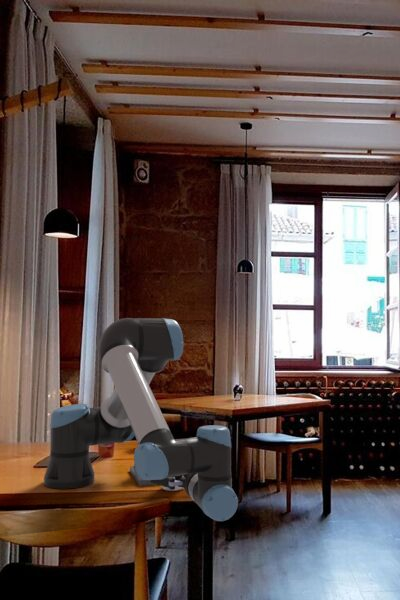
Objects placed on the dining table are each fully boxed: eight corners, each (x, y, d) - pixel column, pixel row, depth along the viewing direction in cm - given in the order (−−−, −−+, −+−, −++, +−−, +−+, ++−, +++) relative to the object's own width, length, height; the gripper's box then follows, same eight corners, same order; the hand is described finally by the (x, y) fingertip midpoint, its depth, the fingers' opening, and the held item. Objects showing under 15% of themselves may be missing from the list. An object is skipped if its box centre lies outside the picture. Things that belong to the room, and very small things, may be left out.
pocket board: (139, 485, 160) (139, 476, 160) (129, 471, 177) (129, 462, 177) (178, 482, 163) (177, 473, 163) (165, 468, 181) (165, 460, 181)
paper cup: (92, 457, 198) (92, 419, 199) (102, 453, 205) (102, 416, 206) (110, 459, 196) (110, 420, 197) (120, 454, 203) (120, 417, 204)
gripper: (151, 508, 124) (136, 485, 144) (251, 498, 131) (223, 477, 151) (151, 475, 124) (136, 457, 144) (250, 467, 131) (223, 450, 151)
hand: (181, 467), depth 148 cm, fingers open, 13 cm apart
